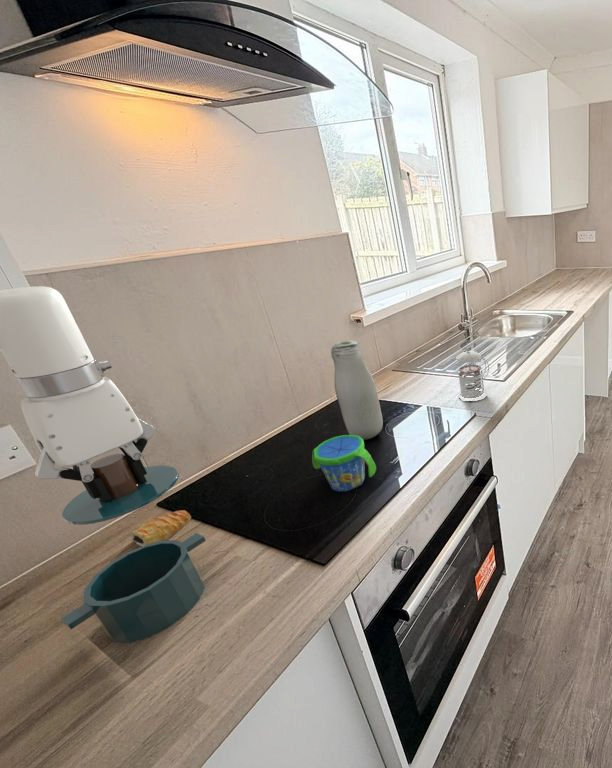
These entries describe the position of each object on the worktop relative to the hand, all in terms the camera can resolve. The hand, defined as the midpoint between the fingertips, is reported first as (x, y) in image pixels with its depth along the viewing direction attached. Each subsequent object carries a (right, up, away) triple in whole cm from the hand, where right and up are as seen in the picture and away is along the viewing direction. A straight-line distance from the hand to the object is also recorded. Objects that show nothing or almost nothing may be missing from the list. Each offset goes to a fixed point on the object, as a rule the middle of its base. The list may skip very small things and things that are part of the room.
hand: (122, 488), depth 63 cm
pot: (+2, -21, +5) cm, 21 cm away
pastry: (-12, -15, +21) cm, 28 cm away
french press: (+48, +12, +74) cm, 89 cm away
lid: (0, -1, 0) cm, 1 cm away
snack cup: (+22, -7, +33) cm, 40 cm away
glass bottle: (+19, +1, +53) cm, 56 cm away
